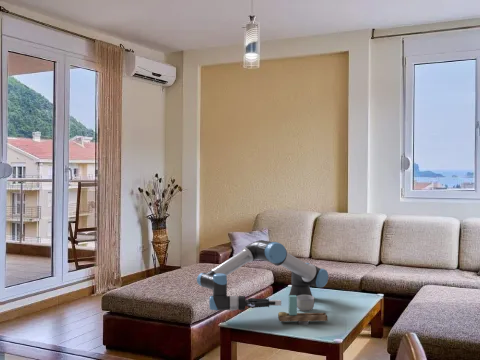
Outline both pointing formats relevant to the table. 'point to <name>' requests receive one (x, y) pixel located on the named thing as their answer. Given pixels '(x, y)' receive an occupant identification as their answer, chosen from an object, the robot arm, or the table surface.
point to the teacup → (305, 302)
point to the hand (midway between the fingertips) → (281, 302)
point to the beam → (302, 317)
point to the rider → (292, 305)
